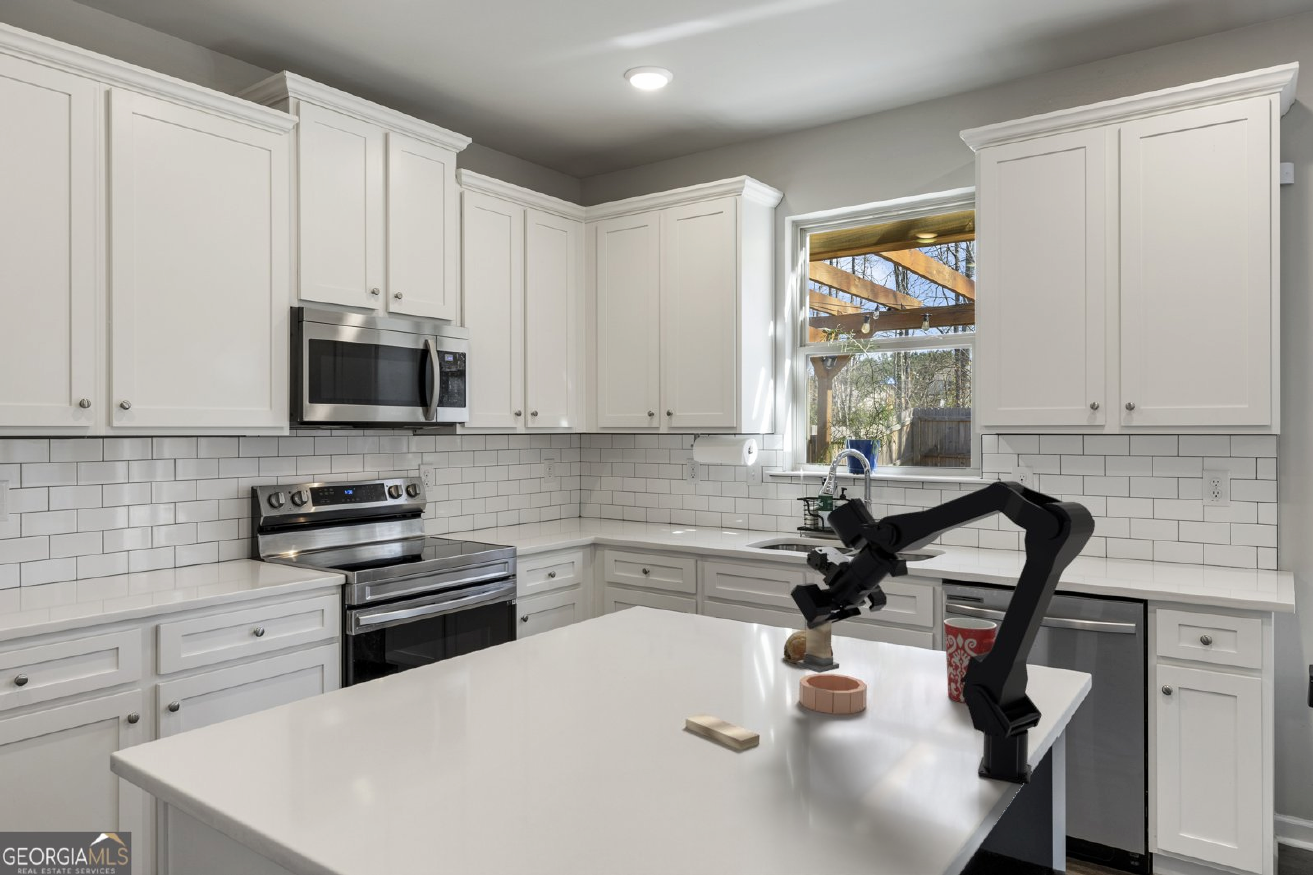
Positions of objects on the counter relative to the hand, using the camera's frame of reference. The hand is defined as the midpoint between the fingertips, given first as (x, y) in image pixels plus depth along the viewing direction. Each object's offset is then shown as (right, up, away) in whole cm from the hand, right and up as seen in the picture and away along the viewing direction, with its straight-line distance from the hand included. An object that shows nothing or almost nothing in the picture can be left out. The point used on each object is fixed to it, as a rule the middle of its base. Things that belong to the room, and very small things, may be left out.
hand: (812, 626), depth 145 cm
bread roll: (+4, -14, +29) cm, 32 cm away
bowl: (+4, -14, +1) cm, 14 cm away
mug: (+30, -14, +4) cm, 33 cm away
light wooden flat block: (-17, -14, -16) cm, 27 cm away
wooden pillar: (+1, -7, -1) cm, 7 cm away
